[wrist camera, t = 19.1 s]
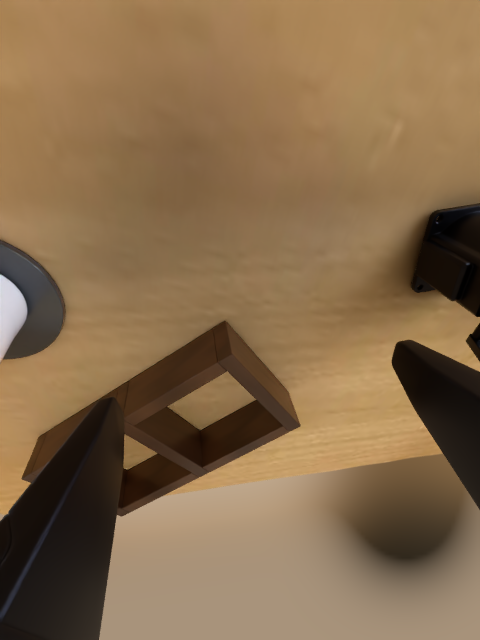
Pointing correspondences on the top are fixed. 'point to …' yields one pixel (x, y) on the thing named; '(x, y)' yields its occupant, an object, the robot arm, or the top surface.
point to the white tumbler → (10, 313)
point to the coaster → (32, 302)
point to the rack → (174, 432)
